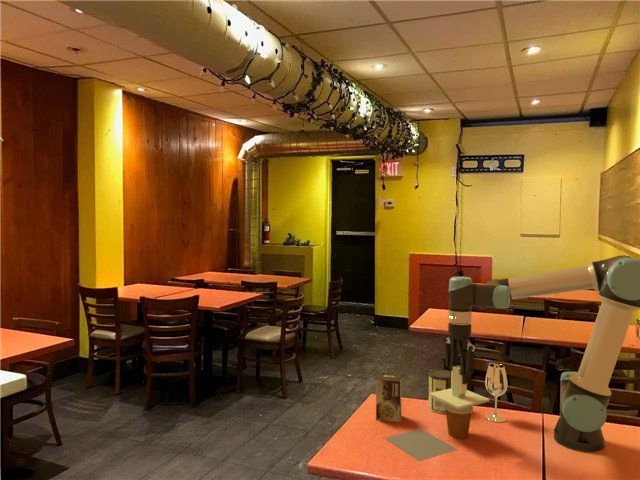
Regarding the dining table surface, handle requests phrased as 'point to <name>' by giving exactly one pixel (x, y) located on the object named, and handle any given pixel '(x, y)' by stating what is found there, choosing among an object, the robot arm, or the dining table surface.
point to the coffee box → (388, 398)
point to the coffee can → (438, 388)
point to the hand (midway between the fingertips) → (458, 391)
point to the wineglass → (496, 388)
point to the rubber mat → (420, 444)
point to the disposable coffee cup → (458, 421)
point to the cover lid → (458, 394)
